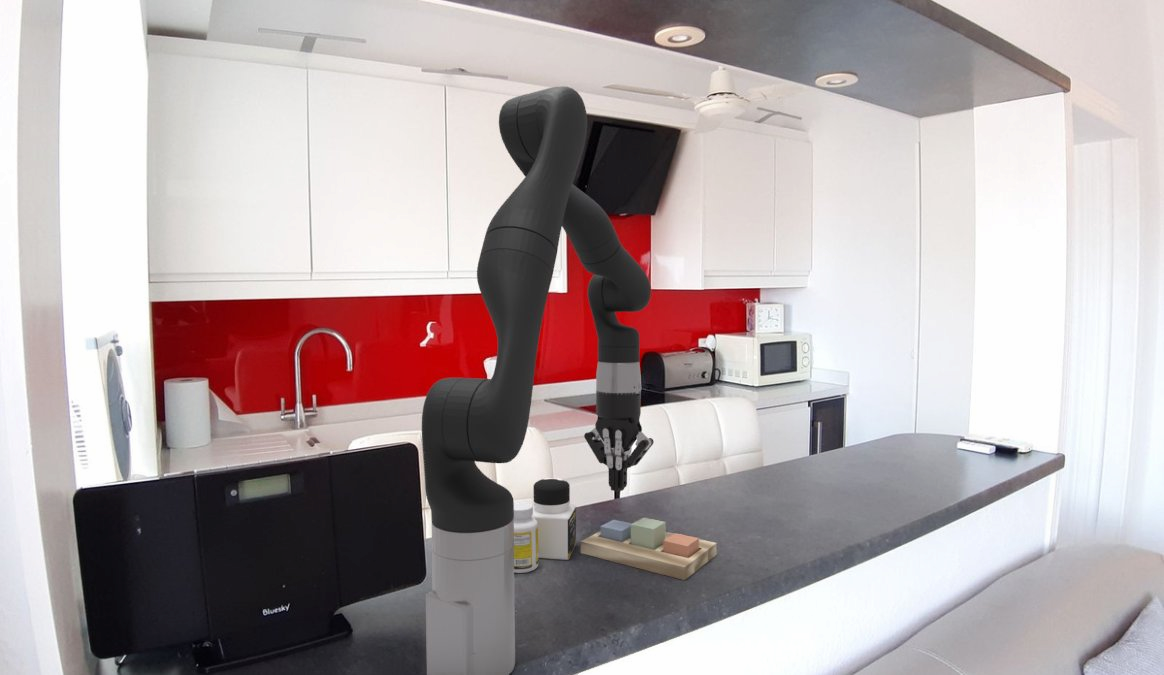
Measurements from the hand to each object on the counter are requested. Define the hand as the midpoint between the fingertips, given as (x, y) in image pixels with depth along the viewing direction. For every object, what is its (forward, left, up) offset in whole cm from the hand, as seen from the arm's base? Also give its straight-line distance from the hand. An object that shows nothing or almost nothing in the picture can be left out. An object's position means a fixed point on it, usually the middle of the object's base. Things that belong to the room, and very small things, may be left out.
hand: (617, 490), depth 112 cm
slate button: (0, 0, -10) cm, 10 cm away
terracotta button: (0, -12, -10) cm, 15 cm away
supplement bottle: (-16, +8, -10) cm, 20 cm away
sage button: (0, -6, -8) cm, 10 cm away
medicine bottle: (-8, +8, -10) cm, 15 cm away
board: (0, -6, -10) cm, 11 cm away
